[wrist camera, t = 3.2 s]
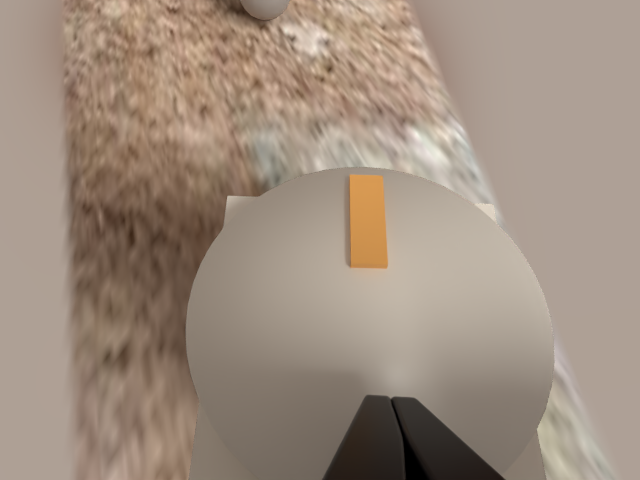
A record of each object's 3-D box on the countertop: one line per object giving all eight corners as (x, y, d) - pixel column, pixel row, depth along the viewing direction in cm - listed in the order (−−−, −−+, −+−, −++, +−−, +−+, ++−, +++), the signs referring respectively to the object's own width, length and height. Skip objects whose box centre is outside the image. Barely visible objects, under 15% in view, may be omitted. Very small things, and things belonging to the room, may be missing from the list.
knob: (473, 522, 14) (604, 525, 8) (216, 517, 14) (149, 516, 8) (445, 287, 18) (519, 167, 12) (242, 281, 18) (209, 157, 12)
